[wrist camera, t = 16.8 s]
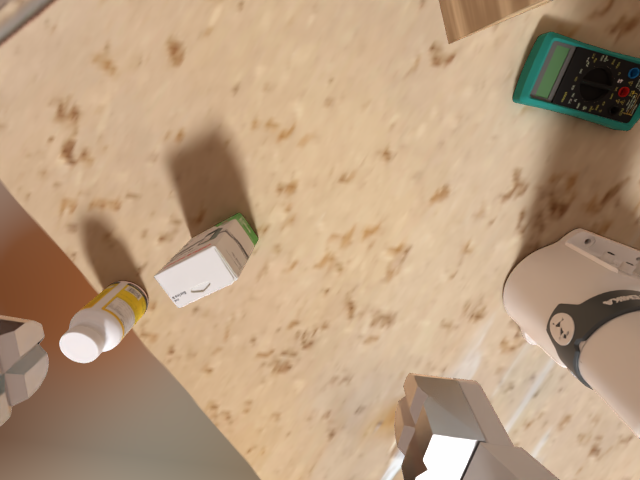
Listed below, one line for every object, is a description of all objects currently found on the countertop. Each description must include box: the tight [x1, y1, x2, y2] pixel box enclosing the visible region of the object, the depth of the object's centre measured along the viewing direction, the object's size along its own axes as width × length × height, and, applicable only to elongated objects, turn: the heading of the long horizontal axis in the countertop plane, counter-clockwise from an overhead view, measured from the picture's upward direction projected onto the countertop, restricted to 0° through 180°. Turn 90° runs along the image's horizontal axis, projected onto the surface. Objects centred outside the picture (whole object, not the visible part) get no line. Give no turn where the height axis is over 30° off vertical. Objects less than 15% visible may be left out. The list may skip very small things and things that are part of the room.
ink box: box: [154, 213, 258, 308], centre depth 43 cm, size 9×5×12 cm, turn 118°
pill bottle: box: [59, 281, 148, 363], centre depth 47 cm, size 6×6×12 cm
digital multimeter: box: [513, 32, 640, 131], centre depth 40 cm, size 7×15×3 cm, turn 76°
